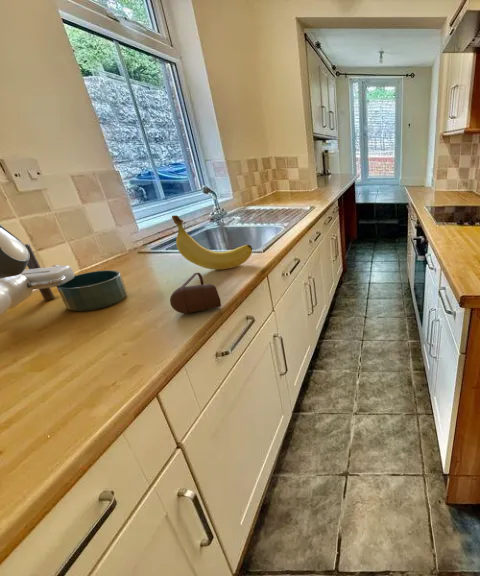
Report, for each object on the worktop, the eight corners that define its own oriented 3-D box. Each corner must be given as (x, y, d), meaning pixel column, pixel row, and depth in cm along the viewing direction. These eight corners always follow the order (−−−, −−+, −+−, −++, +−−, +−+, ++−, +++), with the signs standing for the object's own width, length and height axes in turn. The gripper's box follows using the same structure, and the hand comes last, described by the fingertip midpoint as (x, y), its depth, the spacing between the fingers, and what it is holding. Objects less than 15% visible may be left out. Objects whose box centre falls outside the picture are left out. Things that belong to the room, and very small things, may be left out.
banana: (253, 260, 121) (243, 207, 112) (256, 265, 116) (246, 210, 108) (184, 272, 110) (168, 214, 102) (185, 277, 105) (168, 217, 97)
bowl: (71, 318, 81) (59, 293, 78) (64, 302, 89) (53, 279, 86) (133, 300, 90) (125, 277, 87) (121, 288, 98) (113, 266, 95)
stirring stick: (44, 301, 90) (17, 246, 83) (44, 299, 91) (17, 245, 84) (55, 298, 91) (29, 245, 84) (54, 296, 92) (29, 243, 86)
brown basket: (223, 311, 83) (217, 287, 81) (171, 320, 79) (163, 295, 76) (225, 286, 98) (220, 265, 96) (182, 292, 94) (176, 271, 92)
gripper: (53, 270, 78) (79, 254, 90) (-62, 282, 72) (-18, 263, 83) (63, 294, 81) (87, 275, 93) (-47, 307, 74) (-6, 285, 86)
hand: (37, 269), depth 88 cm, fingers open, 8 cm apart
